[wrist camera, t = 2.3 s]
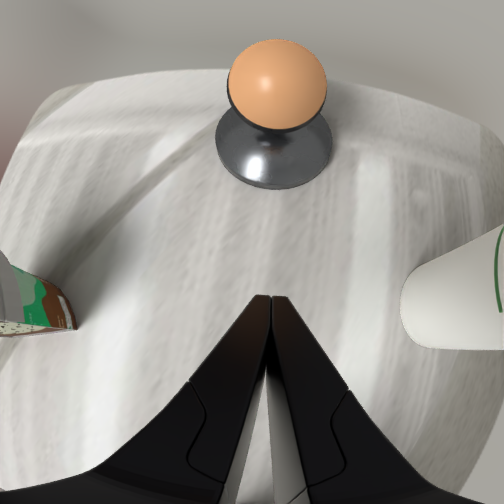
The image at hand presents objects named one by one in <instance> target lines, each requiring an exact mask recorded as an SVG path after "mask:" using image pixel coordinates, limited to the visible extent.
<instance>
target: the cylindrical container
mask: <svg viewBox="0 0 504 504" xmlns="http://www.w3.org/2000/svg"><path fill="white" fill-rule="evenodd" d="M400 315H401V319H402V323H403V325H404V328H405V330H406V332H407V333H408V335H409V337H410V338H411V339H412V340H413V341H414V342H416V343H417V344H419V345H420V346H423V347H426V348H437V349H459V350H504V224H502V225H500V226H498V227H496V228H495V229H493V230H491V231H489V232H487V233H485V234H483V235H482V236H480V237H478V238H476V239H474V240H472V241H470V242H468V243H466V244H464V245H462V246H460V247H458V248H456V249H454V250H452V251H450V252H448V253H446V254H444V255H442V256H440V257H438V258H435V259H433V260H431V261H429V262H427V263H425V264H423V265H421V266H419V267H417V268H416V269H415V270H414V271H413V272H412V273H411V274H410V275H409V276H408V278H407V279H406V281H405V284H404V286H403V289H402V293H401V298H400Z"/></svg>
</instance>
